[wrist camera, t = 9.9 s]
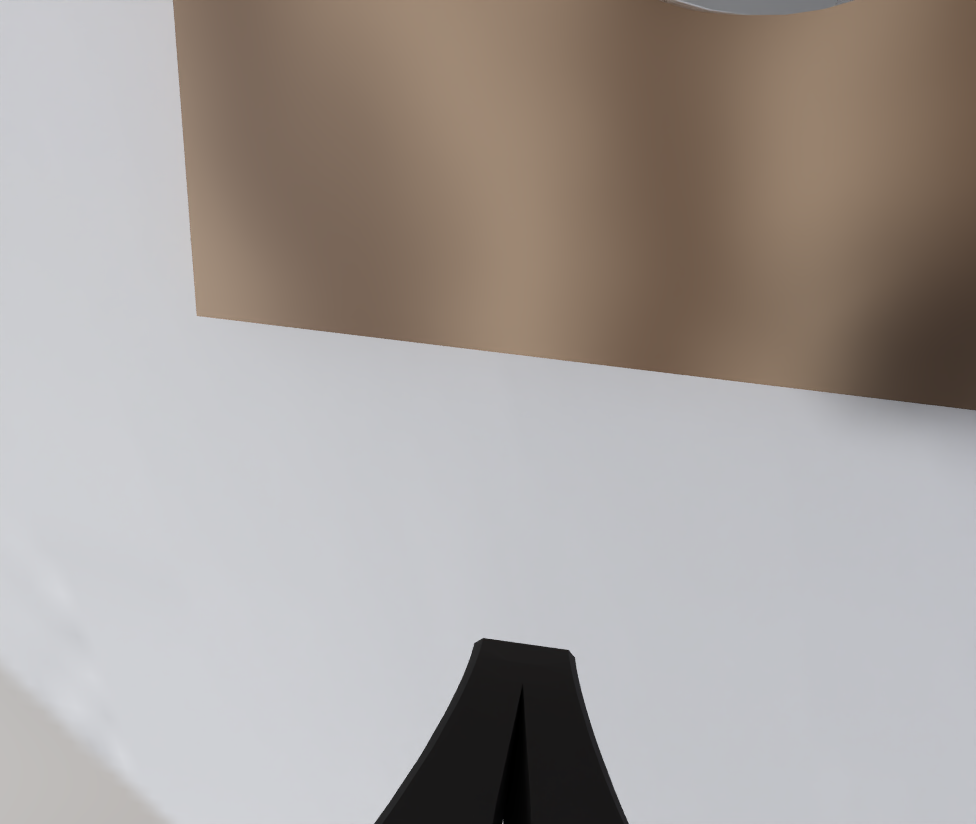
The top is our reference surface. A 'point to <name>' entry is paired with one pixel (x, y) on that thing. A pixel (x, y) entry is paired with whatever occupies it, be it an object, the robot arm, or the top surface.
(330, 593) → the top surface
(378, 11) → the plain tan brown board
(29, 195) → the top surface
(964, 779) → the top surface
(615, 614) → the top surface
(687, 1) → the crank handle wheel
